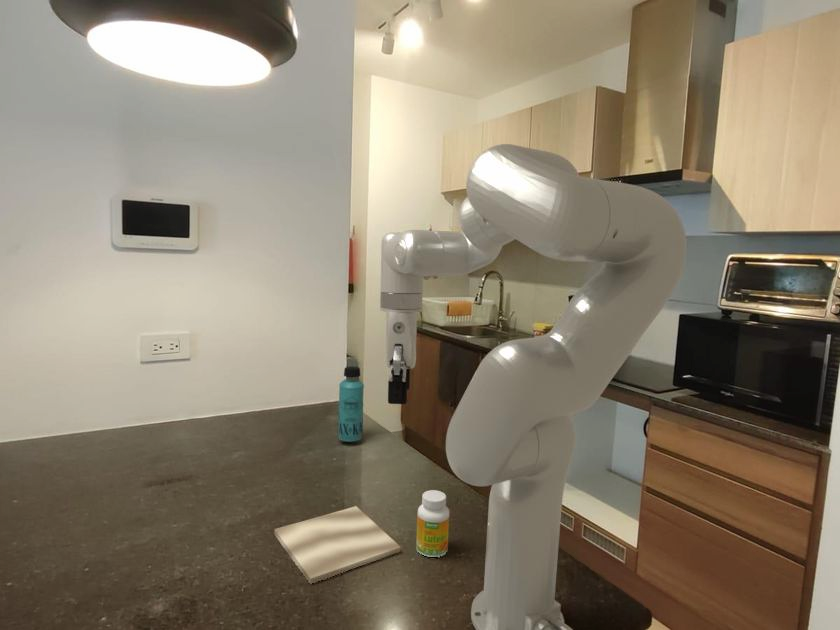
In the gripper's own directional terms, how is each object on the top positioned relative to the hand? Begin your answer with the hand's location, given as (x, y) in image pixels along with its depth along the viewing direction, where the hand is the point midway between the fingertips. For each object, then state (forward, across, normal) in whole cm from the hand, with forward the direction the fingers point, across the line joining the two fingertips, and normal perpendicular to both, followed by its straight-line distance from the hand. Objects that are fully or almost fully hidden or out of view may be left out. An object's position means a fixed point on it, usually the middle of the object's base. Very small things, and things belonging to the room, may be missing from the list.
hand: (399, 396), depth 94 cm
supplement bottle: (+24, -9, -7) cm, 27 cm away
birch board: (+24, -9, +10) cm, 27 cm away
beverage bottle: (+23, +37, +15) cm, 46 cm away
